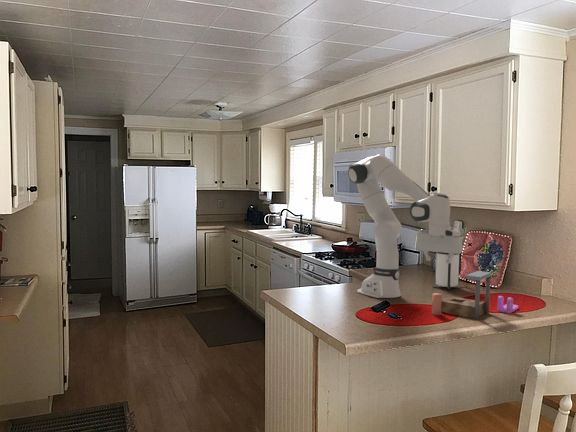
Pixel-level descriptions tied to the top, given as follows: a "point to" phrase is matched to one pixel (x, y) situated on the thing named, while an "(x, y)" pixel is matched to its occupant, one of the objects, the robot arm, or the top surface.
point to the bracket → (508, 307)
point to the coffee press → (447, 270)
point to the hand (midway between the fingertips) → (438, 261)
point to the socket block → (461, 306)
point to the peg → (436, 303)
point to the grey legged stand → (479, 276)
